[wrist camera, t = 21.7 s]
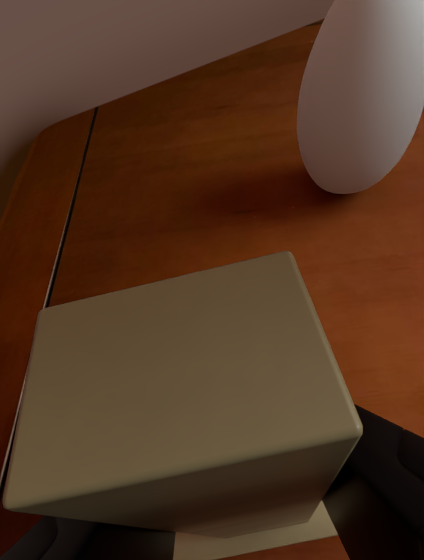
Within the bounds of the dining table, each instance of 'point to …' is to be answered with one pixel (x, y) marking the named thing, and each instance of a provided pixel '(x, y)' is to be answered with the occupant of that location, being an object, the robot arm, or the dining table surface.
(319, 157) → the sauce bottle
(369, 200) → the dining table surface
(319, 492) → the scoop
